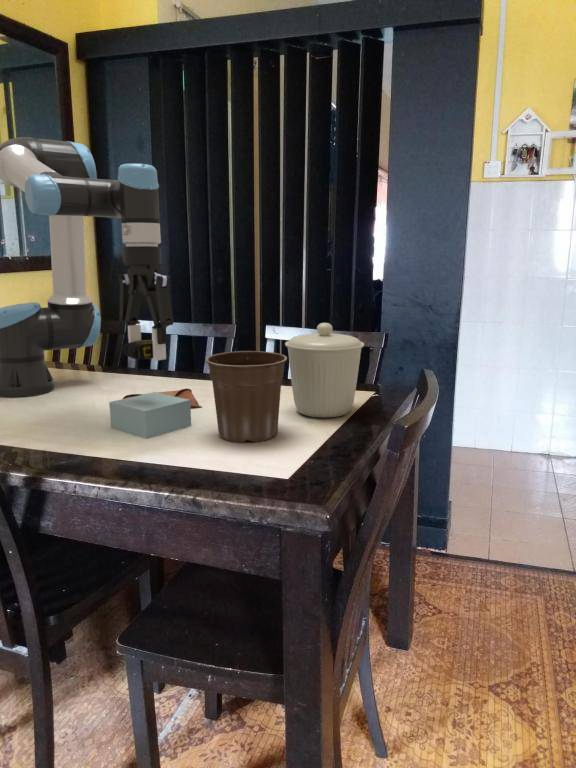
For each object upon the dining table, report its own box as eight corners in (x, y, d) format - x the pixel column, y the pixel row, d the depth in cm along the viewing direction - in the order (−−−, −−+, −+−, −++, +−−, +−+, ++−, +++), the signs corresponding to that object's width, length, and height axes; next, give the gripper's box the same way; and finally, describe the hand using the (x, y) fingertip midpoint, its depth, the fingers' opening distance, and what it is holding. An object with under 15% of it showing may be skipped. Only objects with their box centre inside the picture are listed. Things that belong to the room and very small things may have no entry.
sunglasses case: (131, 416, 135) (125, 389, 137) (124, 425, 141) (119, 399, 143) (204, 407, 144) (198, 381, 146) (195, 415, 150) (190, 391, 152)
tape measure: (122, 358, 125) (121, 341, 124) (153, 355, 129) (152, 338, 128) (133, 363, 119) (132, 345, 119) (165, 360, 123) (165, 342, 122)
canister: (335, 427, 127) (336, 329, 123) (269, 414, 138) (268, 323, 133) (376, 410, 141) (379, 322, 137) (313, 399, 152) (314, 317, 147)
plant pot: (257, 452, 112) (256, 367, 108) (191, 438, 120) (188, 359, 117) (301, 430, 125) (301, 355, 122) (239, 419, 134) (238, 348, 130)
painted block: (111, 429, 127) (109, 402, 126) (155, 417, 136) (154, 392, 135) (146, 439, 120) (145, 411, 119) (191, 426, 129) (190, 399, 128)
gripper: (96, 245, 123) (103, 354, 128) (159, 244, 111) (164, 365, 116) (126, 246, 129) (132, 350, 134) (189, 245, 117) (193, 360, 121)
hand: (147, 357), depth 125 cm, fingers closed on tape measure, 7 cm apart
